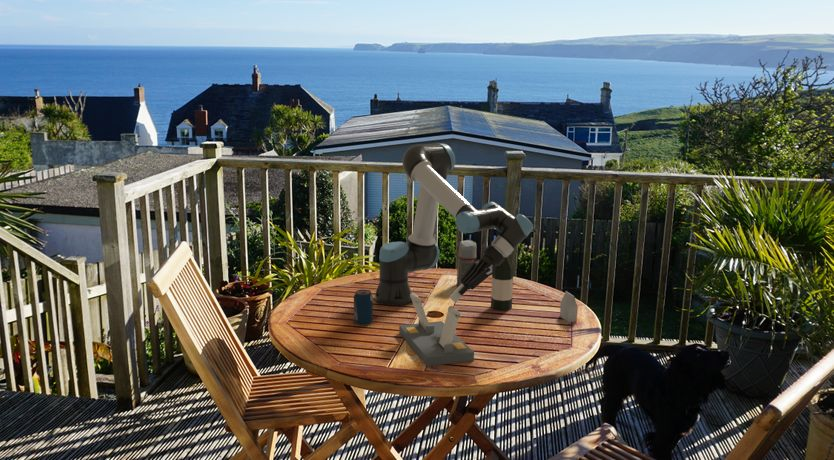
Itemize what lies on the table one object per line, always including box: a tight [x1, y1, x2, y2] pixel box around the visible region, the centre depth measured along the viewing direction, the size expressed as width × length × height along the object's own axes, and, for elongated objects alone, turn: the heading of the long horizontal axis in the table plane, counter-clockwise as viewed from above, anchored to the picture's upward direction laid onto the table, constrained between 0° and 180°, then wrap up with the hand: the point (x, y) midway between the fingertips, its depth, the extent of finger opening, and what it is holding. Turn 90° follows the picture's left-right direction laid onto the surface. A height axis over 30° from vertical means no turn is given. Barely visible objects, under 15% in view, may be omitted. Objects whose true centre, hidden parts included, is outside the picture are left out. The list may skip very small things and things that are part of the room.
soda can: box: [353, 289, 374, 326], centre depth 251 cm, size 7×7×12 cm
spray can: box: [456, 239, 478, 287], centre depth 299 cm, size 8×8×20 cm
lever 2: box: [439, 305, 461, 348], centre depth 221 cm, size 2×6×13 cm, turn 19°
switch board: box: [398, 320, 475, 367], centre depth 230 cm, size 16×30×6 cm, turn 18°
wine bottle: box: [490, 256, 515, 312], centre depth 269 cm, size 8×8×30 cm
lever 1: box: [410, 292, 429, 330], centre depth 236 cm, size 2×6×13 cm, turn 18°
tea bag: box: [559, 290, 579, 323], centre depth 259 cm, size 4×7×10 cm, turn 14°
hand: (452, 299), depth 239 cm, fingers closed
